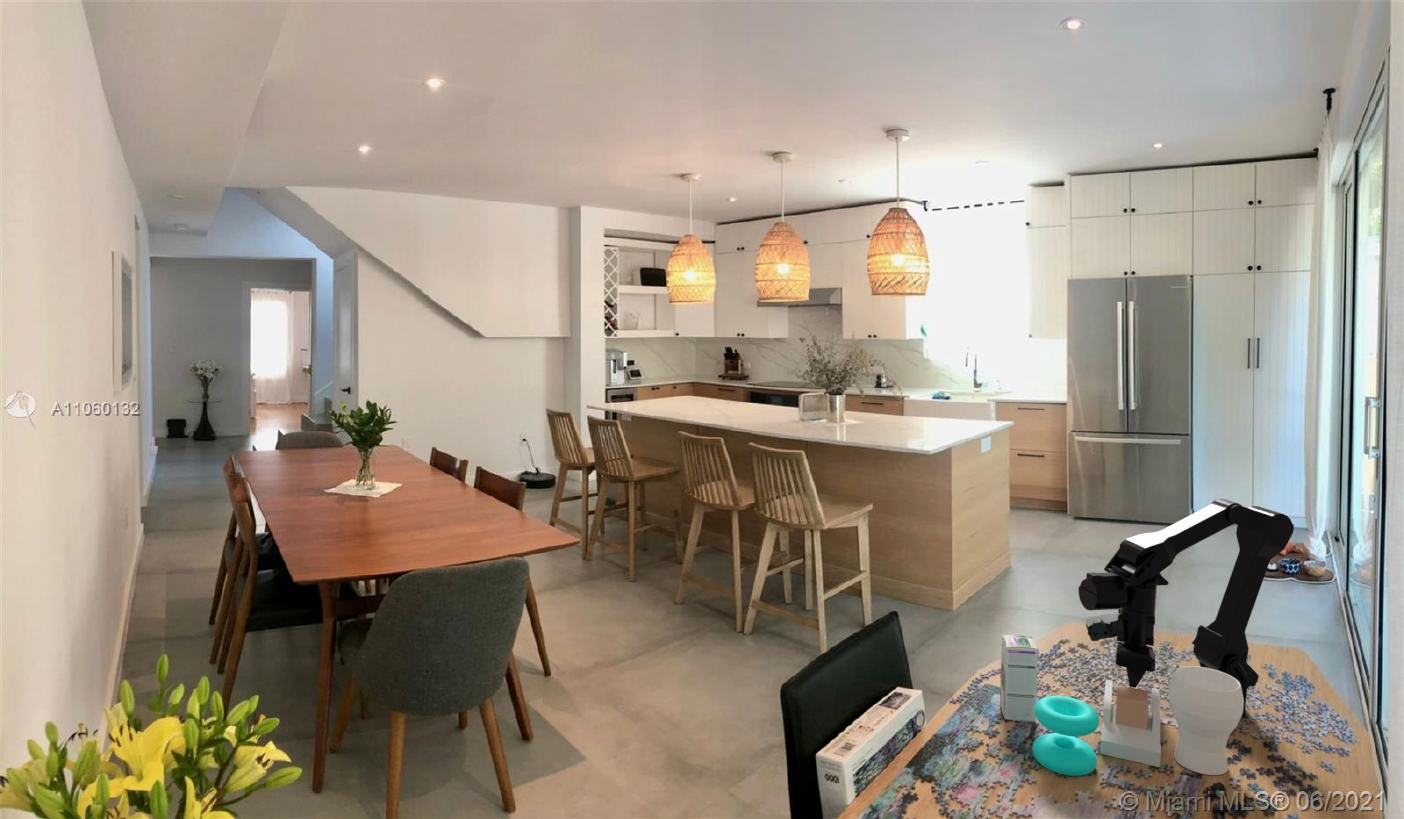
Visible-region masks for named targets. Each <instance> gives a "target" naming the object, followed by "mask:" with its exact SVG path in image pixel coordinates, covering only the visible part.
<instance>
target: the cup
mask: <svg viewBox="0 0 1404 819" xmlns="http://www.w3.org/2000/svg"><path fill="white" fill-rule="evenodd" d="M1168 686H1169V687H1168V699H1169V703H1170V708H1171V712H1172V714H1173V717H1174V719H1175V721H1176V723H1177V731H1178V732H1177V733H1178V739H1177V742H1176V745H1175V750H1174V754H1173V758H1174V759H1175V761H1176V762H1177V763H1178V764H1179V765H1181V766H1182V767H1183V768H1185V769H1187V770H1189V771H1192V772H1195V773H1198V774H1202V775H1208V776H1219V775H1223V774H1226V773H1227V771H1228V769H1229V768H1228V756H1227V748H1226V747H1227V743H1228V739H1229V736H1230V735H1231V734H1232V733H1233V732H1234V730H1235V729H1236V728H1237V726H1238V724H1239V723H1240V721H1241V718H1242V717H1241V716H1242V713H1243V706H1244V699H1243V693H1242V688H1241V685H1240V682H1239V681H1238V680H1237V679H1235V678H1234V677H1232V676H1230V675H1228V674H1226V673H1224V672H1221V671H1217V670H1214V669H1210V668H1205V667H1200V666H1196V665H1195V666H1193V665H1185V666H1180V667H1177V668H1175V669H1174V672H1173V674H1172V677H1171V679H1170V682H1169V685H1168Z"/></svg>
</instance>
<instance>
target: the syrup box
mask: <svg viewBox="0 0 1404 819" xmlns="http://www.w3.org/2000/svg"><path fill="white" fill-rule="evenodd" d="M1038 653H1039V650H1038V647H1037V645H1036V643H1035V641H1034V638H1033V636H1026V635H1019V634H1018V635H1017V634H1016V635H1015V634H1006V635H1005V634H1002V636H1001V656H1000V657H1001V659H1000V661H1001V662H1000V668H1001V669H1000V692H999V693H1000V695H999V696H1000V697H999V700H1000V701H999V706H1000V709H1001V712H1002V716H1003V718H1004V720H1008V721H1017V722H1028V723H1036V720H1037V718H1036V716H1035V712H1034V708H1035V705H1036V703H1037V693H1038V691H1037V690H1038V658H1039V657H1038V656H1039V654H1038Z"/></svg>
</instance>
